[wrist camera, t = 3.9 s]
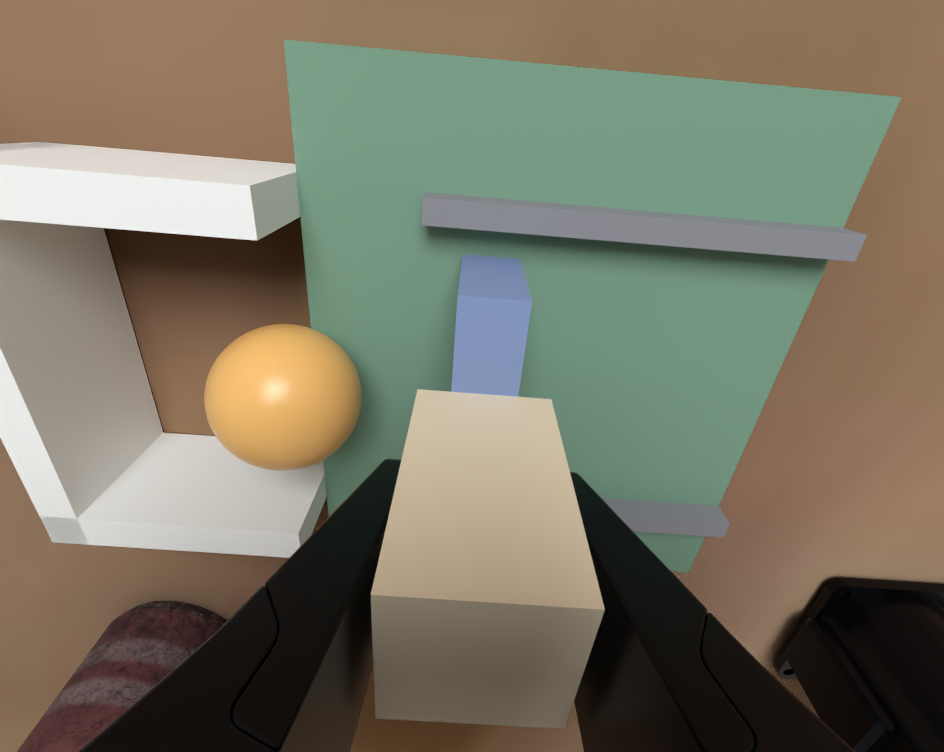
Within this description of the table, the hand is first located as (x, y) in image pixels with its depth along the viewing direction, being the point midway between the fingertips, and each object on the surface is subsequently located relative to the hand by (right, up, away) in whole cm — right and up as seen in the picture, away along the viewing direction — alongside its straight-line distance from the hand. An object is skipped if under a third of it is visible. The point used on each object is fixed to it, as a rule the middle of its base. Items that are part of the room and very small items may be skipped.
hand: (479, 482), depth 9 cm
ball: (-5, +2, +3) cm, 6 cm away
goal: (-8, +3, +5) cm, 10 cm away
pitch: (+2, +3, +6) cm, 6 cm away
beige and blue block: (0, +2, +4) cm, 4 cm away
